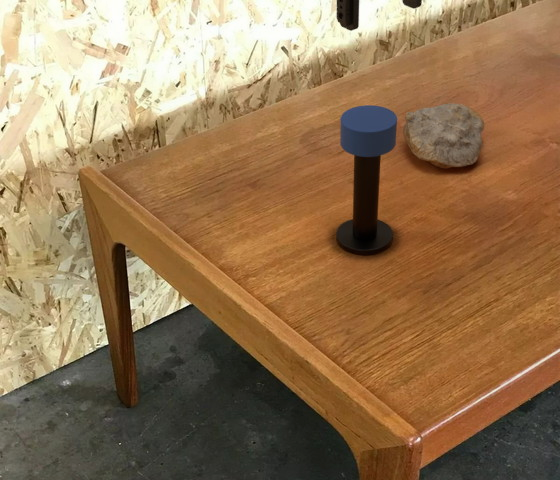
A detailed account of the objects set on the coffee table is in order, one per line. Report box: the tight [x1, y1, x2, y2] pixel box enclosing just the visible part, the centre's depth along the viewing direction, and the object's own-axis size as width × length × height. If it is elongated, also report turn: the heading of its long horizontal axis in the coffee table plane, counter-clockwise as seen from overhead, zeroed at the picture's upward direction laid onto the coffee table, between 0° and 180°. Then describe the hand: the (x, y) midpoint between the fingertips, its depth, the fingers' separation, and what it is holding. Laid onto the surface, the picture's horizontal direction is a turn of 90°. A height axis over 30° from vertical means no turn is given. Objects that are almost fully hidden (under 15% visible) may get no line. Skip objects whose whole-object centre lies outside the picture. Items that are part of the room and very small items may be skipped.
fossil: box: [402, 102, 485, 169], centre depth 110 cm, size 12×8×10 cm
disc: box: [339, 104, 398, 157], centre depth 88 cm, size 6×6×3 cm
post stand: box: [335, 155, 394, 256], centre depth 94 cm, size 7×7×13 cm
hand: (381, 16), depth 81 cm, fingers open, 8 cm apart
